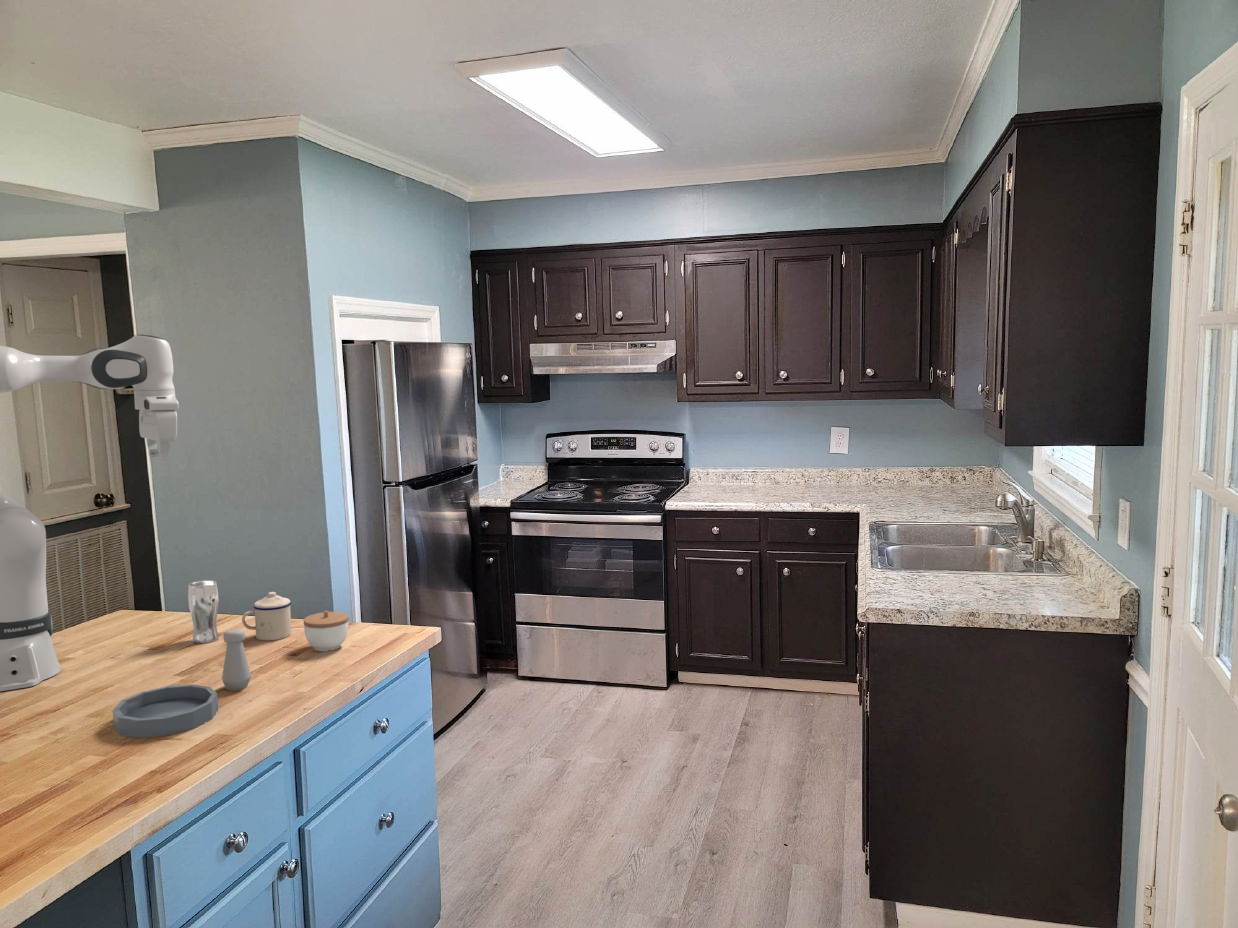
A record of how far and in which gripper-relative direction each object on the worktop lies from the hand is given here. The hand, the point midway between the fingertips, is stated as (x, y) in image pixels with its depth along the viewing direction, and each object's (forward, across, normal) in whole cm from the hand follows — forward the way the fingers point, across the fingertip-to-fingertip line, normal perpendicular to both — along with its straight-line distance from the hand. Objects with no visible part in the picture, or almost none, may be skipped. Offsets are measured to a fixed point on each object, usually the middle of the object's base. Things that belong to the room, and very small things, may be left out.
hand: (158, 458), depth 210 cm
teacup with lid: (+48, +8, +21) cm, 53 cm away
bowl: (+48, +48, -13) cm, 69 cm away
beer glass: (+48, 0, +8) cm, 49 cm away
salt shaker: (+48, +40, +3) cm, 63 cm away
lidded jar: (+48, +27, +29) cm, 63 cm away
